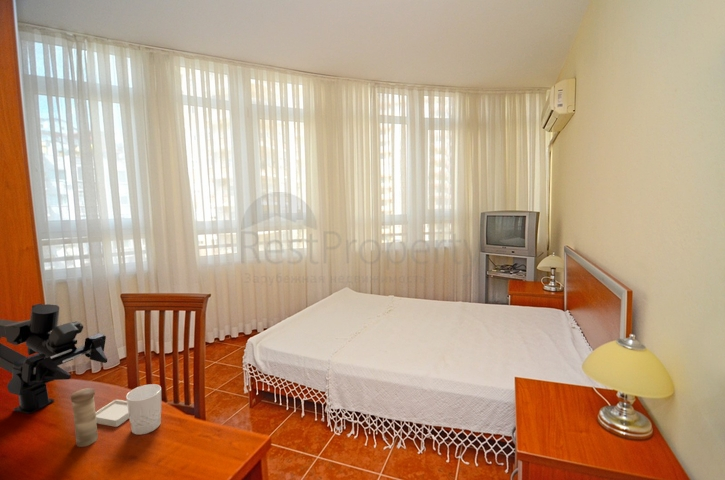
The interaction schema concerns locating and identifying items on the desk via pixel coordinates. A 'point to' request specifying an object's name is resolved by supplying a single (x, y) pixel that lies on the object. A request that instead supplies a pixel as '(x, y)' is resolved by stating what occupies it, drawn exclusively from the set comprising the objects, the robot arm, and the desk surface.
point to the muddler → (84, 416)
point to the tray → (113, 413)
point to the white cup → (144, 408)
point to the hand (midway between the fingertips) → (89, 368)
